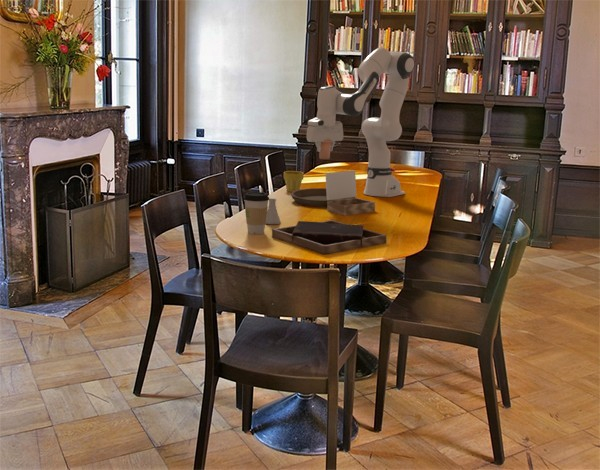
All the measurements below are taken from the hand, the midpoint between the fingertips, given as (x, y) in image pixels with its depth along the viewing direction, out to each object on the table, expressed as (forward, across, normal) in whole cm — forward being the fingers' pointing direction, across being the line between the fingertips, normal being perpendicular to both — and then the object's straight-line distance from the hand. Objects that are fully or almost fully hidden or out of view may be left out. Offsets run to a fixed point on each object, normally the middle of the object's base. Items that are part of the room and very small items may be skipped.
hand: (324, 151), depth 314 cm
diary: (+25, +47, +58) cm, 79 cm away
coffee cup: (+25, +63, +34) cm, 76 cm away
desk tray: (+25, +47, +58) cm, 79 cm away
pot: (+4, 0, 0) cm, 4 cm away
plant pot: (+25, -7, -32) cm, 41 cm away
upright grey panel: (+13, +4, +17) cm, 22 cm away
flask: (+25, +48, +24) cm, 59 cm away
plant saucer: (+25, 0, 0) cm, 25 cm away
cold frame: (+24, +4, +23) cm, 34 cm away
